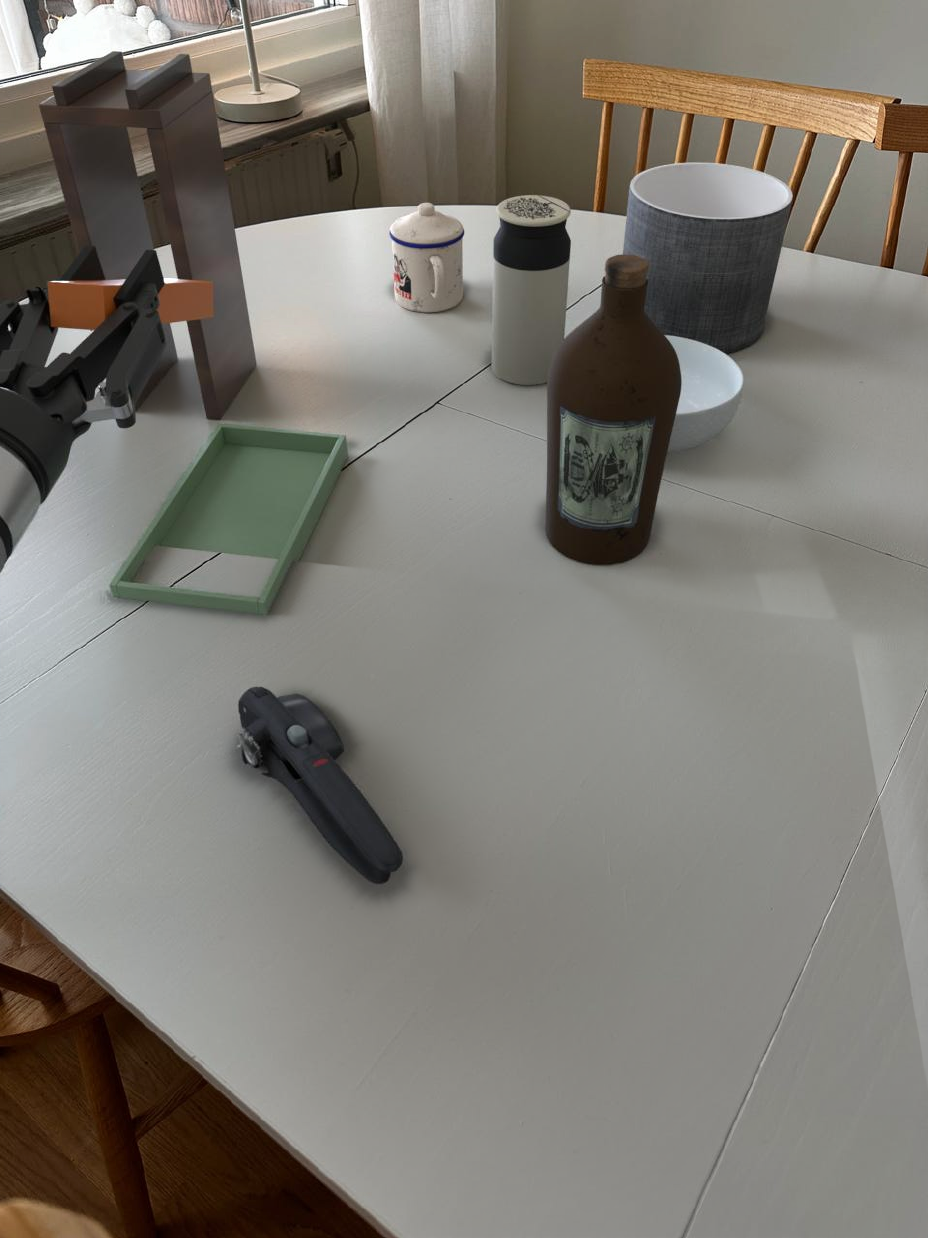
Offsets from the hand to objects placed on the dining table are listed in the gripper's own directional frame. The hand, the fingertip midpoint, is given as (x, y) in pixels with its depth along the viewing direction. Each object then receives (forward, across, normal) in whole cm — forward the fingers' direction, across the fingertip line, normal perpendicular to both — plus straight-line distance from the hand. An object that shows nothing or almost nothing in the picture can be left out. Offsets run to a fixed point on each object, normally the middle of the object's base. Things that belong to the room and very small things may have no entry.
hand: (125, 264), depth 73 cm
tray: (-2, +5, -24) cm, 25 cm away
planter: (+44, +46, -30) cm, 71 cm away
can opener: (-32, +20, -20) cm, 43 cm away
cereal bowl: (+19, +42, -27) cm, 53 cm away
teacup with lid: (+45, +14, -30) cm, 56 cm away
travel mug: (+30, +28, -28) cm, 50 cm away
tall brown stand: (+21, -8, -27) cm, 35 cm away
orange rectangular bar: (0, 0, -5) cm, 5 cm away
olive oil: (+1, +37, -24) cm, 45 cm away
